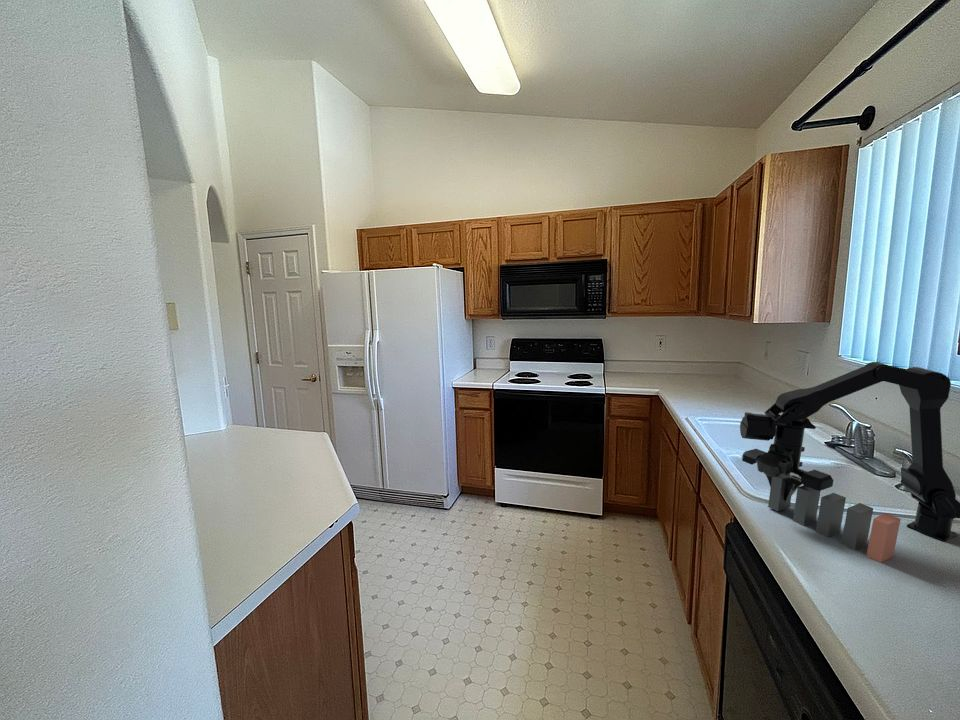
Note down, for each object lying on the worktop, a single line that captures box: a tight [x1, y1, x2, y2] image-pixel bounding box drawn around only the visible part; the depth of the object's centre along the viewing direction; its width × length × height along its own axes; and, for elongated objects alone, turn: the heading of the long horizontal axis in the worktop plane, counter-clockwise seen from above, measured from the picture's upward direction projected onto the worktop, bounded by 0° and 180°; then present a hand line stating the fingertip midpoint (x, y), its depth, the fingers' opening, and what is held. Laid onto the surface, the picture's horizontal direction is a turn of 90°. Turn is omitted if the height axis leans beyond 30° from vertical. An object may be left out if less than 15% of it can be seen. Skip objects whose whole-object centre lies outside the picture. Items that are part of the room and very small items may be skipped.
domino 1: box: [767, 474, 792, 512], centre depth 103 cm, size 2×5×9 cm, turn 113°
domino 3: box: [815, 492, 847, 538], centre depth 94 cm, size 2×5×9 cm, turn 113°
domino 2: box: [792, 485, 821, 526], centre depth 98 cm, size 2×5×9 cm, turn 113°
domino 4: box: [840, 502, 874, 551], centre depth 89 cm, size 2×5×9 cm, turn 113°
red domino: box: [866, 513, 902, 564], centre depth 85 cm, size 2×5×9 cm, turn 113°
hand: (780, 498), depth 104 cm, fingers closed on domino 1, 2 cm apart
